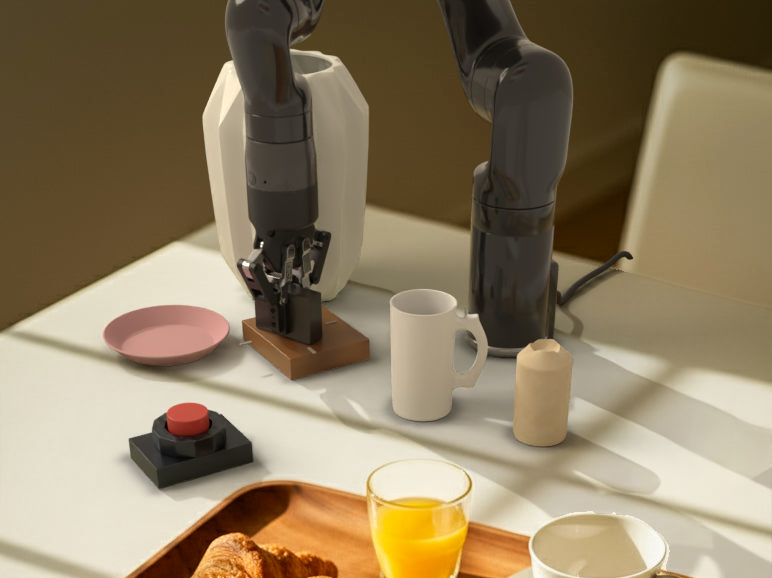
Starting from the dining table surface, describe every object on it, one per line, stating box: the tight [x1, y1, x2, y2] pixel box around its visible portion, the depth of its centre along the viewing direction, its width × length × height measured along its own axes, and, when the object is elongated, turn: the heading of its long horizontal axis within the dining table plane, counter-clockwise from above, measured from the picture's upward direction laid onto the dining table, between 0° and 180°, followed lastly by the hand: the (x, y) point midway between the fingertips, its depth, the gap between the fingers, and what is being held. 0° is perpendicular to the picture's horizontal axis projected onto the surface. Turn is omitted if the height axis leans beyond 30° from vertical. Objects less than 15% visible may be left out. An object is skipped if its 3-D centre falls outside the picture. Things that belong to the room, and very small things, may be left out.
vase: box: [202, 48, 370, 303], centre depth 161 cm, size 20×20×28 cm
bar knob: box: [253, 284, 323, 345], centre depth 150 cm, size 8×2×6 cm, turn 54°
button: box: [166, 402, 210, 436], centre depth 130 cm, size 4×4×2 cm
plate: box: [102, 304, 231, 367], centre depth 154 cm, size 14×14×2 cm
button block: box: [128, 409, 254, 490], centre depth 132 cm, size 10×7×4 cm
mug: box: [389, 288, 488, 422], centre depth 139 cm, size 10×7×12 cm, turn 84°
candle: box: [512, 339, 574, 447], centre depth 135 cm, size 6×6×10 cm
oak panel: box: [239, 304, 371, 381], centre depth 152 cm, size 13×12×3 cm
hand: (289, 328), depth 151 cm, fingers closed on bar knob, 2 cm apart
